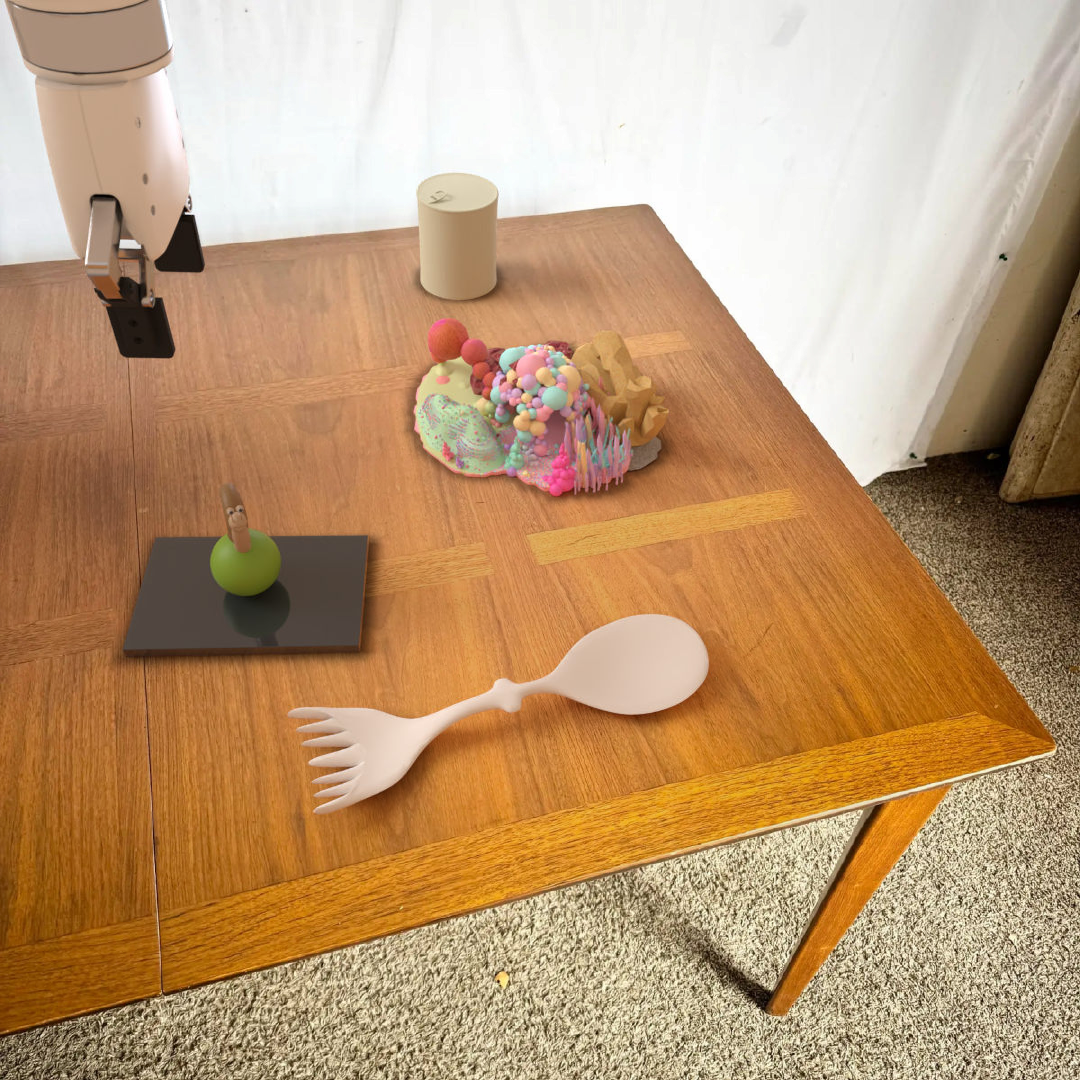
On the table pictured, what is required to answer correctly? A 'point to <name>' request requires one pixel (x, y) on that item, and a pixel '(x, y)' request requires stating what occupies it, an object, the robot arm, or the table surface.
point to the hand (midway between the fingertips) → (166, 310)
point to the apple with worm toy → (243, 551)
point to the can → (457, 235)
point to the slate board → (251, 601)
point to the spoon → (514, 701)
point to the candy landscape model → (537, 410)
